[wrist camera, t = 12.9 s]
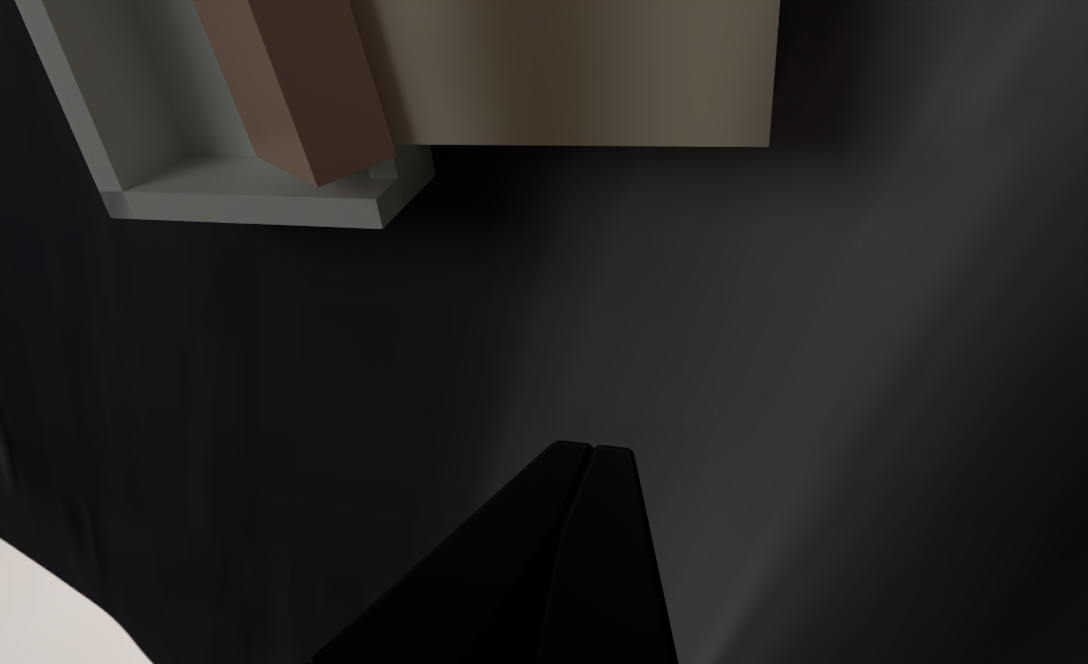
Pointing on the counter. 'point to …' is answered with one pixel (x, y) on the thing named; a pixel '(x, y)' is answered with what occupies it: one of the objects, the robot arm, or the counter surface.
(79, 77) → the tray
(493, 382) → the counter surface
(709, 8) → the tan flat block
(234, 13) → the tile
